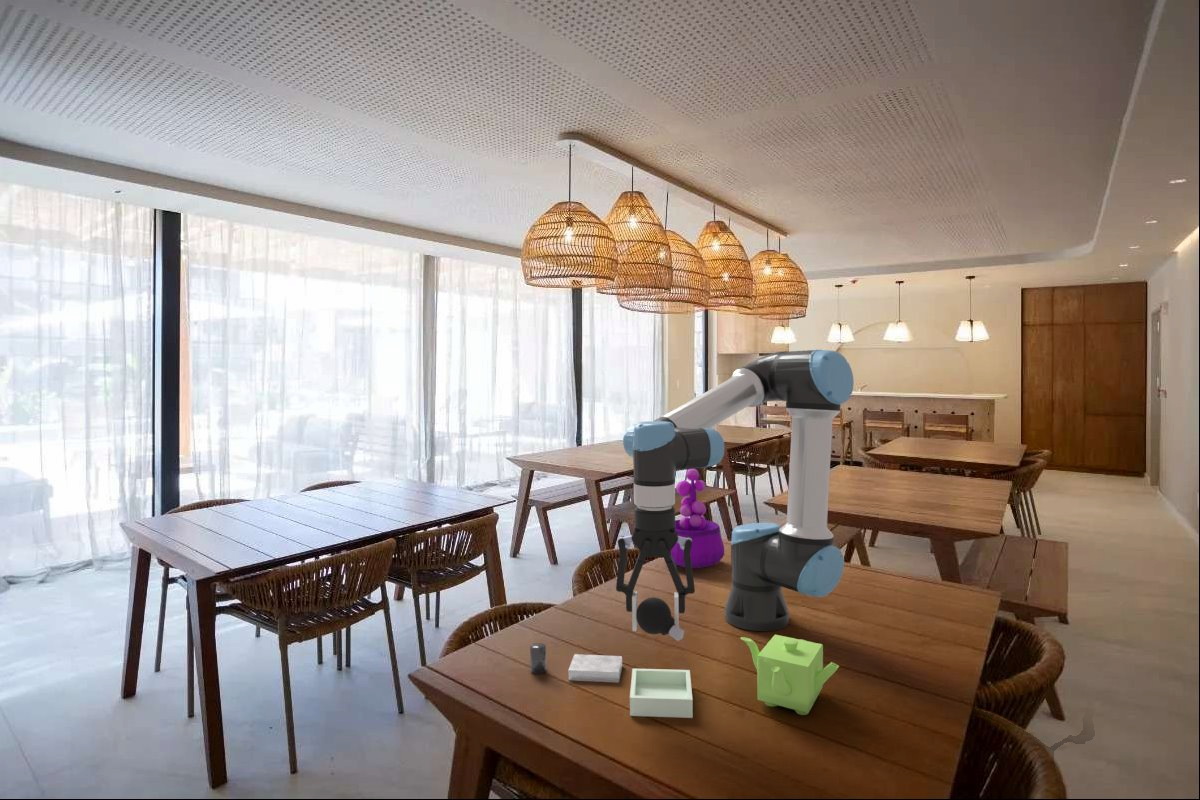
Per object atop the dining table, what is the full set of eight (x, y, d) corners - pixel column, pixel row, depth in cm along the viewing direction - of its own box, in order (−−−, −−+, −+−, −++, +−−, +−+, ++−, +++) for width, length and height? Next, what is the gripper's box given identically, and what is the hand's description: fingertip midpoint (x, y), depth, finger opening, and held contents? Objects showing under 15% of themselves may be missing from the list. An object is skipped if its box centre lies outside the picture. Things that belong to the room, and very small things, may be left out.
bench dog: (547, 666, 133) (547, 643, 133) (544, 674, 130) (544, 649, 130) (532, 666, 134) (531, 642, 133) (529, 673, 131) (528, 649, 130)
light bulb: (682, 624, 111) (638, 592, 117) (667, 656, 112) (624, 622, 118) (698, 619, 116) (656, 589, 122) (684, 650, 117) (642, 618, 123)
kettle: (773, 728, 110) (773, 663, 109) (735, 688, 123) (734, 631, 123) (850, 714, 113) (850, 652, 113) (804, 677, 127) (804, 621, 127)
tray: (689, 686, 124) (689, 670, 124) (692, 717, 113) (692, 699, 113) (632, 685, 125) (632, 668, 125) (630, 715, 114) (629, 697, 114)
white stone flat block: (622, 668, 133) (622, 656, 133) (618, 684, 126) (618, 672, 126) (574, 665, 135) (574, 654, 134) (568, 682, 128) (568, 670, 128)
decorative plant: (660, 573, 192) (659, 473, 190) (664, 555, 210) (663, 463, 208) (725, 575, 189) (724, 474, 187) (723, 557, 207) (723, 464, 205)
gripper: (708, 502, 121) (709, 622, 122) (602, 501, 123) (604, 619, 124) (710, 511, 113) (711, 639, 114) (598, 510, 116) (599, 635, 117)
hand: (655, 628), depth 119 cm, fingers closed on light bulb, 7 cm apart
